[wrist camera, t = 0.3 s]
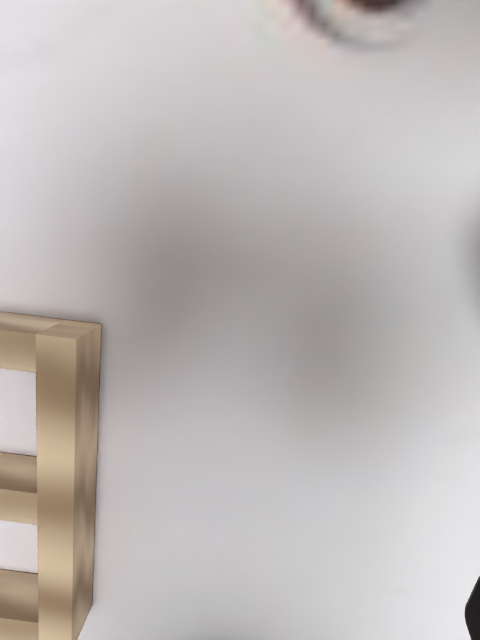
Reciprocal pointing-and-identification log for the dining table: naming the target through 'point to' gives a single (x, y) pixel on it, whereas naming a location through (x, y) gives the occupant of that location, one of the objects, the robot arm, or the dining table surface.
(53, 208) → the dining table surface
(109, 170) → the dining table surface
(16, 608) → the comb rack
